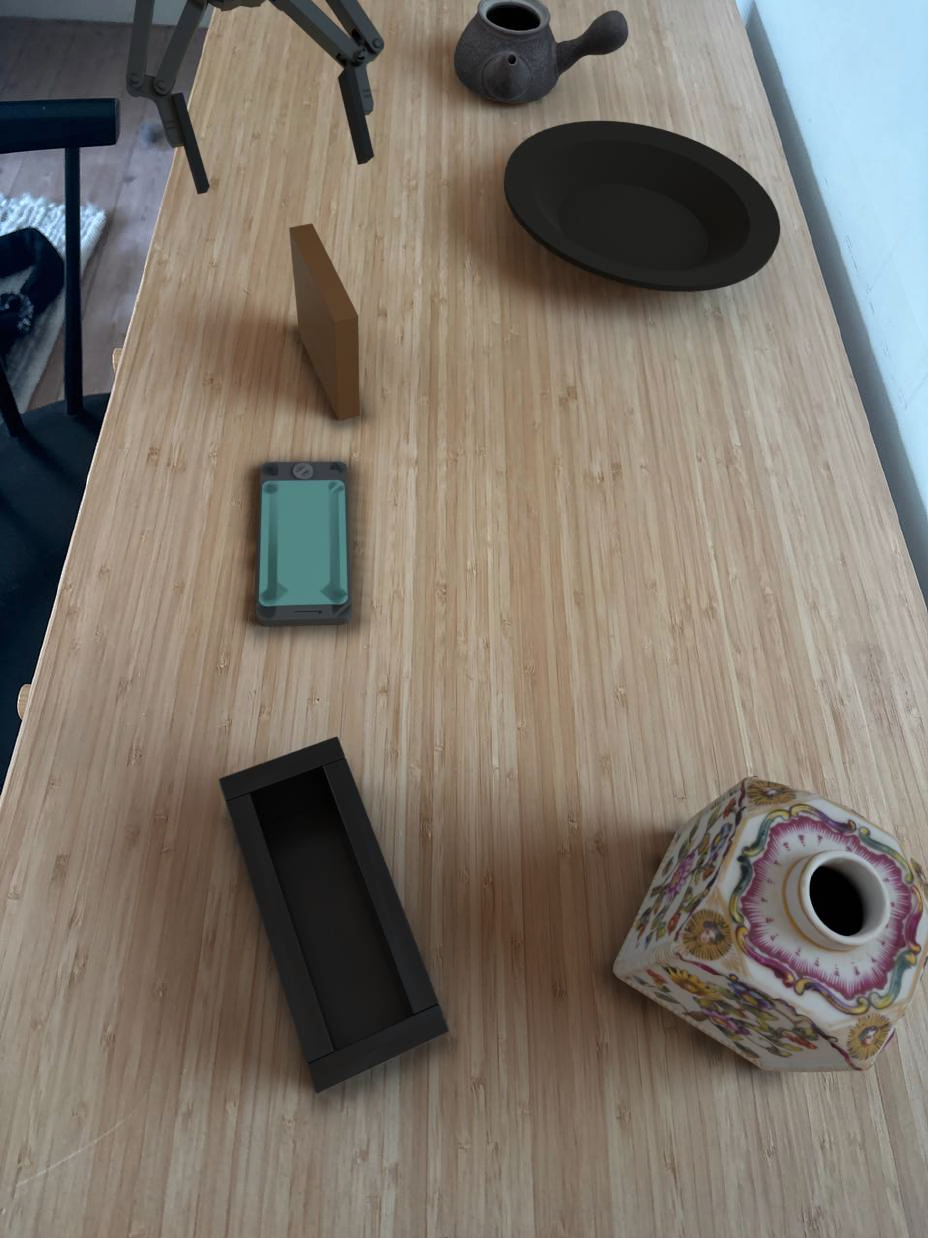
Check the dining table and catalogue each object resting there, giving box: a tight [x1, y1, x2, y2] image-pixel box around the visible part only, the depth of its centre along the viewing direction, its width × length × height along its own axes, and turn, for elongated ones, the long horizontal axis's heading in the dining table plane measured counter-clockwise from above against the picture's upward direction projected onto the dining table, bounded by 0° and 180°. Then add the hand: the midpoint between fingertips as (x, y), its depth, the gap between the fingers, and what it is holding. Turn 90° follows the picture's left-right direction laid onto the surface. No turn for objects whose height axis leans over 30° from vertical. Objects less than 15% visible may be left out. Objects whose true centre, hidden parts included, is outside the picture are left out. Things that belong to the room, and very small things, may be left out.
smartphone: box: [254, 461, 353, 627], centre depth 70 cm, size 7×1×15 cm
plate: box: [503, 120, 781, 293], centre depth 88 cm, size 28×24×6 cm
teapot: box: [453, 0, 629, 104], centre depth 97 cm, size 19×15×10 cm
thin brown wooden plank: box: [288, 222, 361, 421], centre depth 74 cm, size 11×2×12 cm, turn 23°
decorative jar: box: [612, 775, 928, 1073], centre depth 51 cm, size 12×12×18 cm
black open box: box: [218, 735, 450, 1095], centre depth 53 cm, size 18×8×9 cm, turn 23°
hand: (287, 175), depth 70 cm, fingers open, 13 cm apart
